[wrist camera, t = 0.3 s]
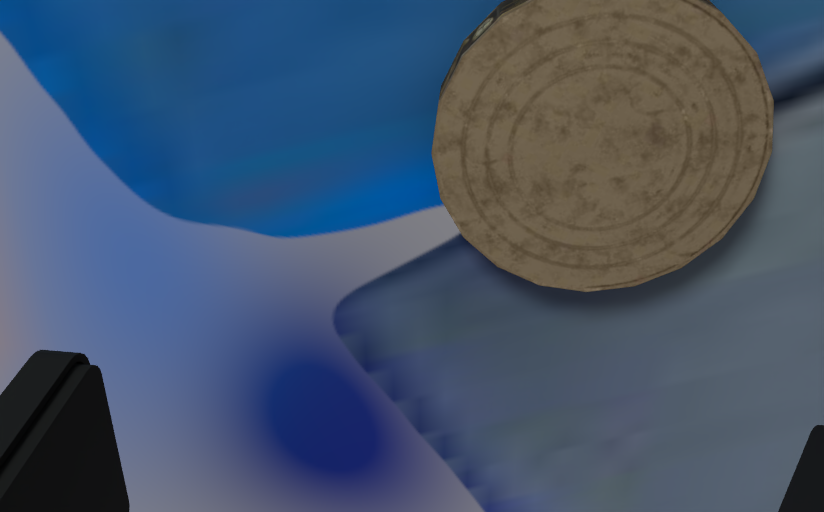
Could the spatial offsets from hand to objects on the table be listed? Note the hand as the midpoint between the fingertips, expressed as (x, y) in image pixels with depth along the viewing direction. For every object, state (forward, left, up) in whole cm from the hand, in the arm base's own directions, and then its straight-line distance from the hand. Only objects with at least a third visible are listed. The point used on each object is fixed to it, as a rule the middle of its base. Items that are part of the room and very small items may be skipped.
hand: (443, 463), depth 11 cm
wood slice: (+6, +7, -31) cm, 32 cm away
